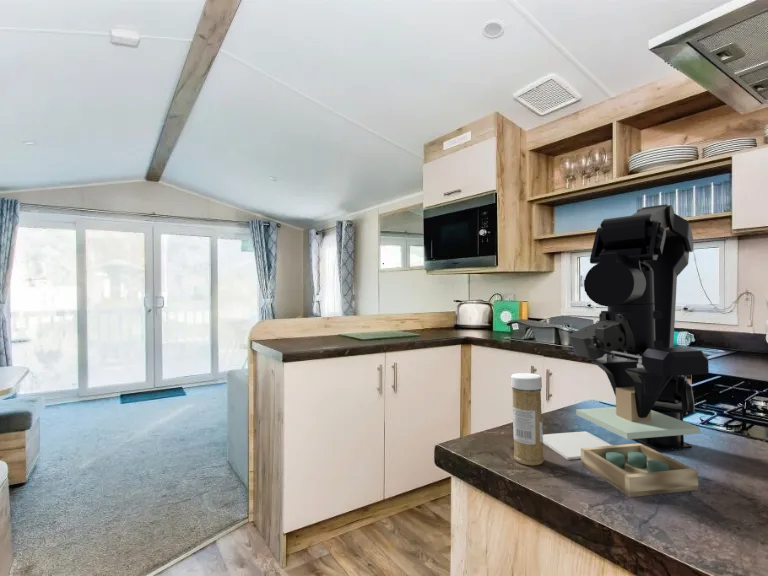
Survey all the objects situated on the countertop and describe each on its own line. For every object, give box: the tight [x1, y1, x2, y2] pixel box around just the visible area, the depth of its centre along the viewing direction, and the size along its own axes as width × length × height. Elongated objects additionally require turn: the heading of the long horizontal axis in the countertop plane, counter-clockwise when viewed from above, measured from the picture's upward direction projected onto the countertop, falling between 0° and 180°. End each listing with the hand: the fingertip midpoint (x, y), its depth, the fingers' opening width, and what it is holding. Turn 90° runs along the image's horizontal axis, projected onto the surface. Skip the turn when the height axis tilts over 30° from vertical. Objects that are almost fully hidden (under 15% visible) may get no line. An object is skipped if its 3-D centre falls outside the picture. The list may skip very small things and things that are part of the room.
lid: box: [575, 387, 701, 440], centre depth 58 cm, size 11×11×5 cm
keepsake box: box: [580, 442, 699, 498], centre depth 58 cm, size 10×10×2 cm
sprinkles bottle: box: [510, 372, 545, 466], centre depth 64 cm, size 5×5×13 cm
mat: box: [543, 430, 613, 461], centre depth 69 cm, size 10×10×1 cm
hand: (633, 413), depth 58 cm, fingers closed on lid, 3 cm apart
